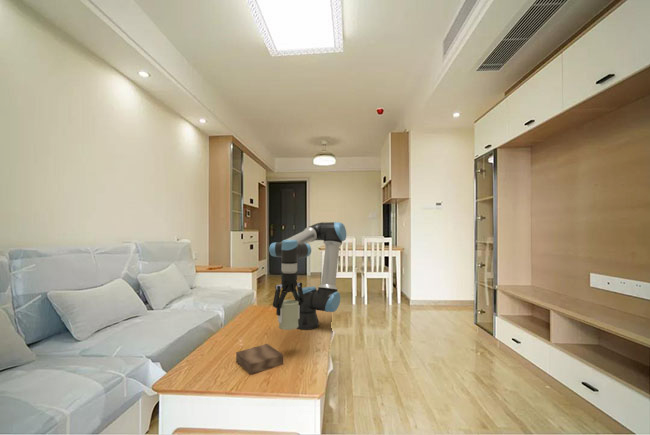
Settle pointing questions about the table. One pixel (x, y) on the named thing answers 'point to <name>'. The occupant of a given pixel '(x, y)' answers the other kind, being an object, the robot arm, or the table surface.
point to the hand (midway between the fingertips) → (288, 320)
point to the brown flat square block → (259, 358)
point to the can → (289, 315)
